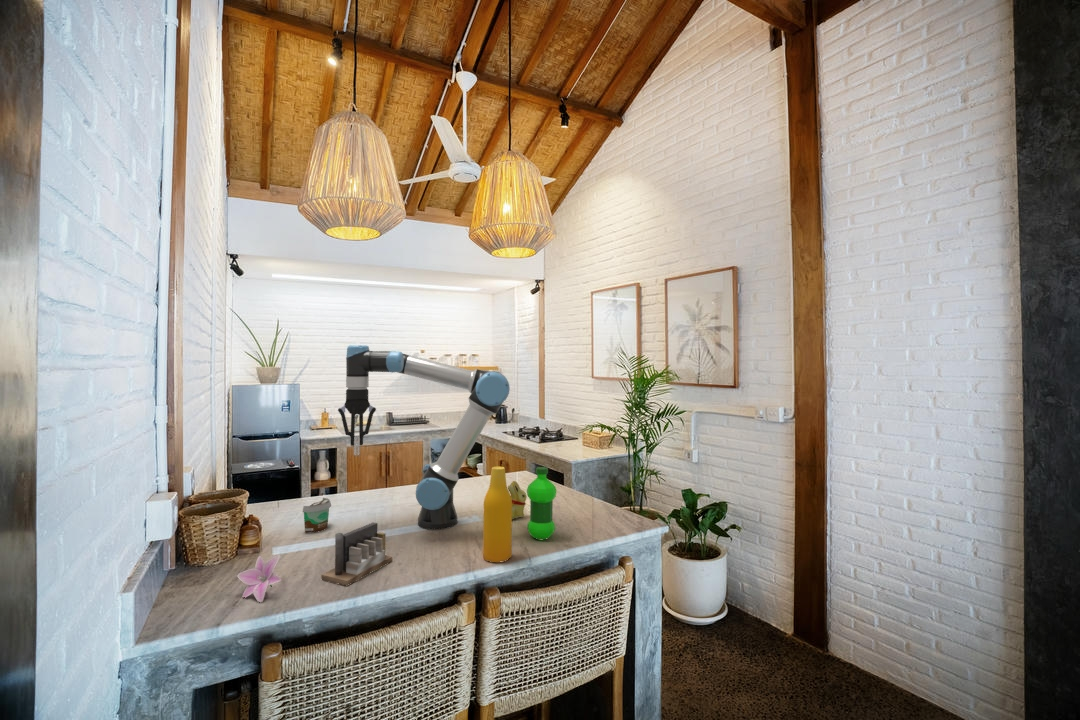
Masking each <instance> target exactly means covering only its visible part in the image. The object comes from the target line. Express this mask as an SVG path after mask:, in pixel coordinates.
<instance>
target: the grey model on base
mask: <svg viewBox="0 0 1080 720" xmlns="http://www.w3.org/2000/svg"><path fill="white" fill-rule="evenodd" d="M343 534H344V533H343V532H337V533H335V538H334V539H335V545H334V548H335V549H334V568H332V569H330V570H328V571H325V572H324V573H322V574H321V579H322V580H321V581H324V580H326V581H325V582H328V581H330V582H329V583H332V582H334V583H333V584H336V583H339V584H338V585H340V584H343V585H342V586H344V585H348V584H350V583H352V582H354V581H356V580H357V581H359V580H361V579H362V578H361V577H363V576H365V575H367V574H368V575H370V574H371V573H370V572H372V571H374V570H376V569H377V570H379V569H381V568H382V567H381V566H383V565H385V564H387V563H388V564H390V563H391V562H390V561H392V562H393V556H391V555H386V538H387V537H386V535H387V534H386V533H385V532H377V537H371V541H370V540H364V544H361V543H357V547H352V546H351V547H349V561H348V562H346V570H345V571H344V570H342V566H343ZM389 562H390V563H389ZM388 564H387V565H388ZM385 566H386V565H385ZM380 567H381V568H380ZM383 567H384V566H383ZM378 568H379V569H378ZM377 570H376V571H377ZM374 572H375V571H374ZM369 573H370V574H369ZM372 573H373V572H372ZM368 575H367V576H368ZM365 577H366V576H365ZM360 578H361V579H360ZM363 578H364V577H363ZM358 579H359V580H358ZM357 581H356V582H357ZM354 583H355V582H354ZM352 584H353V583H352ZM350 585H351V584H350ZM348 586H349V585H348Z"/></svg>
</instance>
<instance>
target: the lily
mask: <svg viewBox="0 0 1080 720" xmlns="http://www.w3.org/2000/svg"><path fill="white" fill-rule="evenodd" d="M280 557H281V555H280V554H278V555H275V556H273V557H271V558H270V559H268V560H266V561H265V560H264V559H263V557H262V556H261V555H259V556H258V557H257V559H256V562H255V566H254V568H249V569H247V570H244V571H241V572H240V573H239V572H238V574H237V578H238V579H239V580H240V581H241V582H242V583H243V584H245V585H246V587H245V589H244V591H243V594H242V595H241V598H242V597H245V598H244V599H246V598H247V597H249V596H250V595H252V594H253V596H254V598H255V599H256V601H257V602H258V601H262V602H264V599H265V596H266V595H265V594H266V591H267V588H268V586H270V588H271V587H273V584H277V583H279V582H281V581H282V578H281V577H280V576H279V575H277V574H276V573H275V572H274V570H275V567H276V566H277V564H278V562H279V560H280Z"/></svg>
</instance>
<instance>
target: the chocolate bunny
mask: <svg viewBox="0 0 1080 720" xmlns="http://www.w3.org/2000/svg"><path fill="white" fill-rule="evenodd" d="M507 489H508V491H509V493H510V496H511V499H512V520H515V519H514V518H516V519H519V518H518V517H521V518H523V517H524V516H525V513H524V511H525V506H526V500H527V497H528V495H527V494H526V493H527V492H525V490H523V489H521V487H520V485H519V483H518V482H517V481H516V480H513V481H512V482H511V483H510V484H509V485H508V486H507ZM522 516H523V517H522Z"/></svg>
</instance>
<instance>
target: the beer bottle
mask: <svg viewBox="0 0 1080 720" xmlns="http://www.w3.org/2000/svg"><path fill="white" fill-rule="evenodd" d="M489 481H490V482H489V487H488V490H487V492H486V494H485V496H484V498H483V530H482V531H483V533H482V535H483V536H482V537H483V541H482V544H483V545H482V557H483V560H484V561H486V560H487V561H486V562H488V561H491V562H490V563H492V562H500V561H505V560H507V559H509V558H510V557H512V552H513V551H512V549H513V547H512V542H513V541H512V537H513V536H512V531H513V530H512V526H513V524H512V523H513V519H512V499H511V494H510V492H509V490H508V486H507V477H506V468H505V467H504V466H493V467H491V473H490V480H489ZM510 559H511V558H510ZM510 559H509V560H510ZM505 562H506V561H505Z"/></svg>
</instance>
